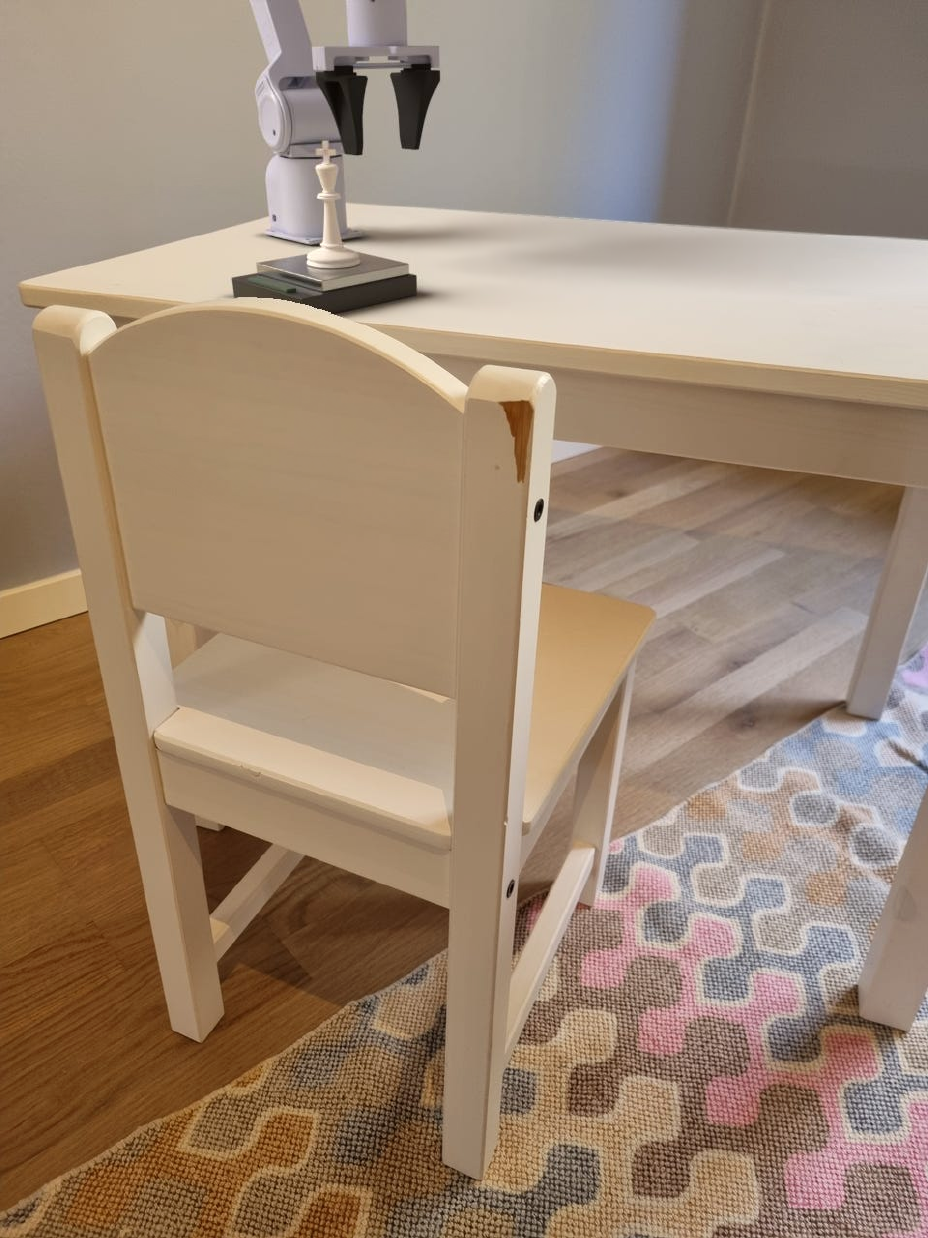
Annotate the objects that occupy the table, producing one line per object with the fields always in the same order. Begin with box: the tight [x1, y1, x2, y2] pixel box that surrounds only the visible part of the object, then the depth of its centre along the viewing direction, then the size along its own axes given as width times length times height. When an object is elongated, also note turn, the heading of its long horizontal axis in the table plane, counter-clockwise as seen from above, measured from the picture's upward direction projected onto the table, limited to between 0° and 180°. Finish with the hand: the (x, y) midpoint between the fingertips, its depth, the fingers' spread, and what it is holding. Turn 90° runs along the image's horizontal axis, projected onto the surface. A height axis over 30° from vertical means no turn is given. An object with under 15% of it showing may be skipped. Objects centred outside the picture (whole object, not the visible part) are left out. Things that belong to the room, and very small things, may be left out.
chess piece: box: [307, 141, 361, 269], centre depth 82 cm, size 5×5×10 cm
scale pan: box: [255, 251, 410, 292], centre depth 85 cm, size 10×10×1 cm
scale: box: [230, 272, 418, 314], centre depth 85 cm, size 11×13×2 cm
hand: (382, 151), depth 94 cm, fingers open, 7 cm apart
